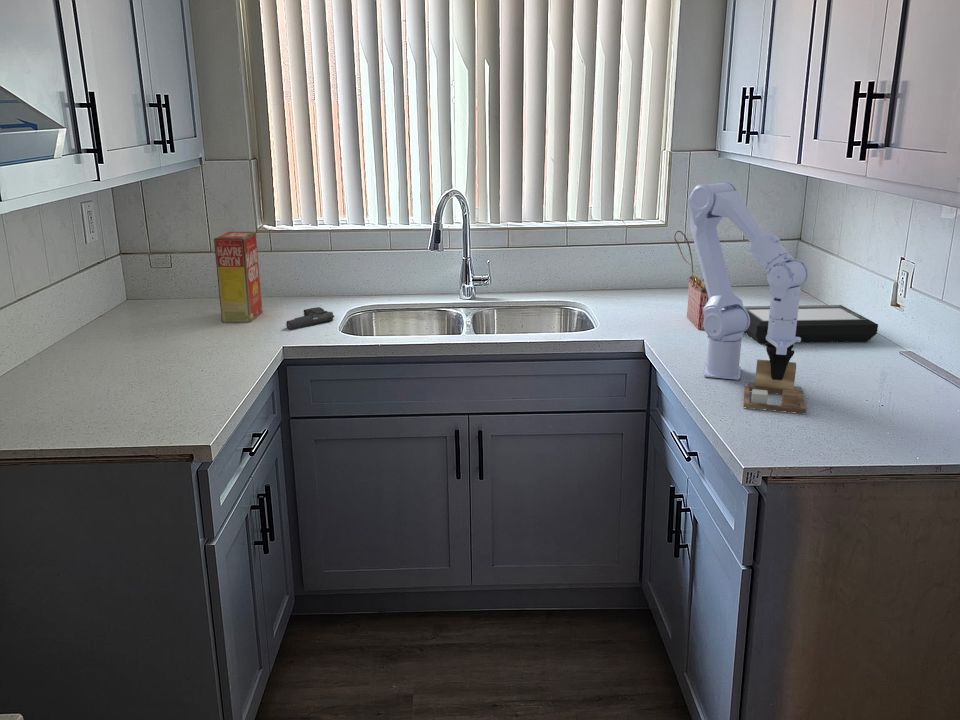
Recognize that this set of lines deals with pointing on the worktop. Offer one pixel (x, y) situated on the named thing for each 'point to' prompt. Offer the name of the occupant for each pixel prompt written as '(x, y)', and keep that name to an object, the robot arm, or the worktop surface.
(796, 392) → the offcut dark
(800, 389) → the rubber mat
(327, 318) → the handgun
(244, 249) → the food packaging
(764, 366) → the oak board
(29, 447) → the worktop surface
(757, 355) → the worktop surface
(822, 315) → the electronic device
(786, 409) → the frame
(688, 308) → the handbag
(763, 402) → the offcut grey
